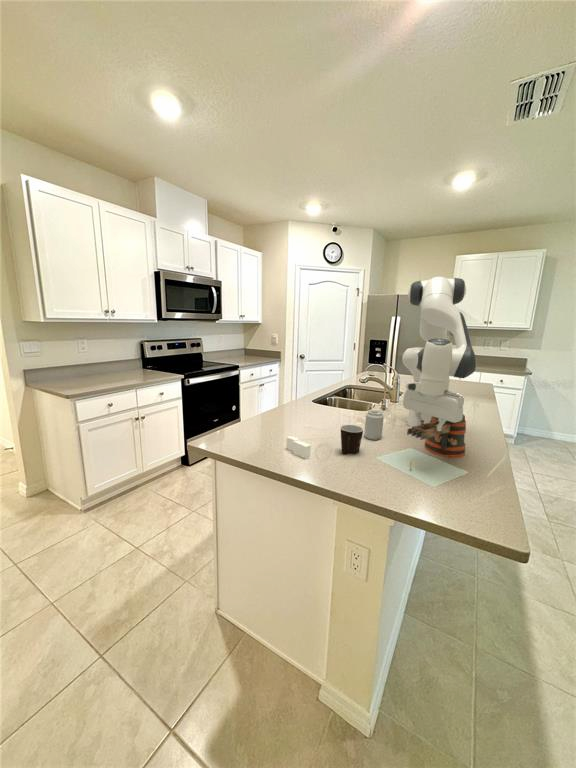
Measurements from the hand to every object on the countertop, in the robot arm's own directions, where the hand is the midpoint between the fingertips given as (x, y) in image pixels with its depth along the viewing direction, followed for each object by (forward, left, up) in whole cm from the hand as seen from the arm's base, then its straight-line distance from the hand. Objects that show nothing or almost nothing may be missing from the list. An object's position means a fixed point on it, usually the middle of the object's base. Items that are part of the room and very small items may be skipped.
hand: (428, 427), depth 105 cm
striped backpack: (-18, -4, -15) cm, 24 cm away
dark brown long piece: (0, 0, -2) cm, 2 cm away
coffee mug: (+16, -22, -15) cm, 31 cm away
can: (-6, -30, -15) cm, 34 cm away
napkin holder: (+32, -32, -16) cm, 48 cm away
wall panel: (+1, -1, -15) cm, 15 cm away
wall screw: (+8, 0, -14) cm, 16 cm away
